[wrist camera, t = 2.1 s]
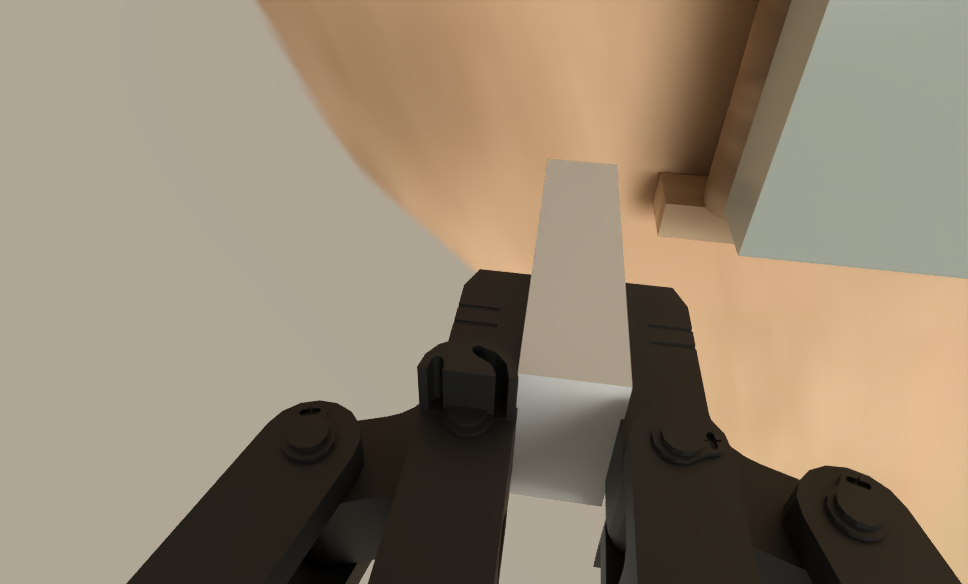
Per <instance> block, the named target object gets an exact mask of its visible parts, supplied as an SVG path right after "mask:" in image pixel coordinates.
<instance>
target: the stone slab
mask: <svg viewBox="0 0 968 584" xmlns="http://www.w3.org/2000/svg"><path fill="white" fill-rule="evenodd" d="M724 213H725V216H726V219H727V222H728V226H729V229H730V232H731V235H732V238H733V241H734V244H735V247H736V250H737V253H738V256H746V257H756V258H766V259H776V260H786V261H796V262H806V263H816V264H826V265H836V266H846V267H855V268H865V269H875V270H885V271H895V272H905V273H915V274H925V275H935V276H945V277H955V278H964V279H968V0H792V1H791V4H790V7H789V10H788V13H787V16H786V19H785V22H784V26H783V29H782V32H781V35H780V38H779V41H778V44H777V47H776V51H775V54H774V57H773V60H772V63H771V66H770V69H769V72H768V76H767V79H766V82H765V85H764V88H763V91H762V94H761V97H760V100H759V104H758V107H757V110H756V113H755V116H754V119H753V122H752V125H751V129H750V132H749V135H748V138H747V141H746V144H745V147H744V150H743V154H742V157H741V160H740V163H739V166H738V169H737V172H736V175H735V179H734V182H733V185H732V188H731V191H730V194H729V197H728V200H727V204H726V207H725V210H724Z"/></svg>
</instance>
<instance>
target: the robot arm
mask: <svg viewBox="0 0 968 584" xmlns="http://www.w3.org/2000/svg"><path fill="white" fill-rule="evenodd" d="M691 330H692V326H691V321H690V316H689V311H688V307H687V306H686V304H685V303H684V302H683V301H682V299H681V298H680V297H679V295H678V294H677V293H676V292H675V290H674V289H673V288H668V287H659V286H649V285H640V284H630V283H625V272H624V257H623V243H622V228H621V214H620V200H619V185H618V171H617V165H613V164H601V163H590V162H578V161H567V160H555V159H548V161H547V168H546V175H545V182H544V189H543V197H542V204H541V211H540V218H539V225H538V232H537V239H536V246H535V254H534V261H533V268H532V275H529V274H519V273H510V272H501V271H491V270H482V269H480V270H479V271H478V272H477V273H476V274H475V275H474V276H473V277H472V278H471V279H470V280H469V281H468V282H467V283H466V284H465V285H464V288H463V291H462V295H461V298H460V302H459V308H458V309H457V312H456V316H455V321H454V323H453V326H452V330H451V333H450V337H449V341H448V342H445V343H441V344H439V345H437V346H436V347H434V348H433V349H432V350H430V351H429V352H427V353H426V354H425V355H424V357H423V358H422V360H421V362H420V363H419V365H418V366H417V370H418V388H419V405H417V406H416V407H414V408H412V409H410V410H407V411H405V412H403V413H400V414H396V415H392V416H388V417H381V418H374V419H368V420H360V421H357V420H356V418H355V416H354V415H353V413H352V412H351V411H349V410H348V409H346V408H344V407H343V406H341V405H339V404H337V403H332V402H326V401H312V402H305V403H300V404H298V405H296V406H293V407H291V408H289V409H286V410H284V411H282V412H281V413H280V414H278V415H277V416H276V417H275V418H274V419H272V420H271V421H270V422H269V423H268V424H267V425H266V426H265V427H264V428H263V429H262V430H261V432H260V433H259V434H258V435H257V436H256V437H255V438H254V440H253V441H252V442H251V443H250V444H249V445H248V446H247V447H246V449H245V450H244V451H243V452H242V453H241V454H240V455H239V457H238V458H237V459H236V460H235V461H234V462H233V463H232V465H231V466H230V467H229V468H228V469H227V470H226V471H225V473H224V474H223V475H222V476H221V477H220V478H219V479H218V480H217V482H216V483H215V484H214V485H213V486H212V487H211V488H210V489H209V491H208V492H207V493H206V494H205V495H204V496H203V497H202V499H201V500H200V501H199V502H198V503H197V504H196V505H195V506H194V508H193V509H192V510H191V511H190V512H189V513H188V514H187V516H186V517H185V518H184V519H183V520H182V521H181V522H180V523H179V525H178V526H177V527H176V528H175V529H174V530H173V531H172V533H171V534H170V535H169V536H168V537H167V538H166V539H165V541H164V542H163V543H162V544H161V545H160V546H159V547H158V549H157V550H156V551H155V552H154V553H153V554H152V555H151V556H150V558H149V559H148V560H147V561H146V562H145V563H144V564H143V565H142V567H141V568H140V569H139V570H138V571H137V572H136V573H135V575H134V576H133V577H132V578H131V579H130V580H129V581H128V583H127V584H359V582H360V580H361V578H362V577H363V575H364V573H365V571H366V570H367V568H368V566H369V564H370V563H371V561H372V560H374V559H375V562H374V566H373V569H372V572H371V575H370V579H369V582H368V584H499V576H500V568H501V560H502V551H503V544H504V536H505V528H506V517H507V516H506V515H507V506H508V499H509V493H512V494H519V495H526V496H533V497H540V498H547V499H554V500H561V501H568V502H575V503H582V504H588V505H595V506H602V502H603V499H604V495H605V496H606V520H605V524H604V527H603V531H602V534H601V538H600V542H599V545H598V549H597V553H596V557H595V562H594V567H599V568H601V584H962V583H961V582H960V581H959V579H958V578H957V576H956V575H955V574H954V572H953V571H952V569H951V568H950V567H949V565H948V564H947V563H946V561H945V560H944V558H943V557H942V556H941V554H940V553H939V551H938V550H937V549H936V547H935V546H934V545H933V543H932V542H931V540H930V539H929V538H928V536H927V535H926V533H925V532H924V531H923V529H922V528H921V527H920V525H919V524H918V522H917V521H916V520H915V518H914V517H913V515H912V514H911V513H910V511H909V510H908V509H907V507H906V506H905V505H904V504H903V503H902V502H901V501H900V500H899V499H898V498H897V497H896V496H895V495H894V494H893V493H892V492H891V490H889V489H888V488H886V487H885V486H883V485H882V484H880V483H879V482H877V481H876V480H874V479H873V478H871V477H870V476H867V475H865V474H862V473H859V472H857V471H854V470H851V469H849V468H844V467H834V466H823V467H819V468H816V469H812V470H809V471H808V472H807V473H806V474H805V475H804V476H803V477H802V478H801V480H799V479H796V478H794V477H791V476H789V475H786V474H784V473H781V472H779V471H776V470H773V469H771V468H768V467H766V466H763V465H761V464H759V463H757V462H755V461H753V460H751V459H749V458H746V457H745V456H743V455H742V454H740V453H739V452H738V451H736V450H735V449H733V448H732V447H731V446H730V445H729V443H728V440H727V438H726V436H725V434H724V433H723V432H722V431H721V430H720V429H719V428H718V427H717V426H716V425H715V424H714V422H713V421H712V420H711V418H710V416H709V412H708V407H707V402H706V397H705V392H704V387H703V382H702V377H701V372H700V367H699V362H698V356H697V351H696V349H695V341H694V336H693V332H691Z"/></svg>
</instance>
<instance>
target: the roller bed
mask: <svg viewBox="0 0 968 584" xmlns="http://www.w3.org/2000/svg"><path fill="white" fill-rule="evenodd" d="M791 1H792V0H759V3H758V6H757V10H756V13H755V17H754V20H753V23H752V27H751V30H750V34H749V37H748V41H747V44H746V48H745V51H744V55H743V58H742V62H741V65H740V68H739V72H738V75H737V79H736V82H735V86H734V89H733V93H732V96H731V100H730V103H729V107H728V110H727V113H726V117H725V120H724V124H723V127H722V131H721V134H720V138H719V141H718V145H717V148H716V152H715V155H714V158H713V162H712V165H711V169H710V172H709V176H698V175H687V174H676V173H664V172H660V176H659V180H658V184H657V189H656V193H655V197H654V202H653V206H654V213H655V220H656V227H657V234H658V236H659V237H669V238H679V239H689V240H699V241H709V242H720V243H730V244H734V241H733V238H732V235H731V232H730V229H729V226H728V222H727V219H726V216H725V213H724V210H725V207H726V204H727V200H728V197H729V194H730V191H731V188H732V185H733V182H734V179H735V175H736V172H737V169H738V166H739V163H740V160H741V157H742V154H743V150H744V147H745V144H746V141H747V138H748V135H749V132H750V129H751V125H752V122H753V119H754V116H755V113H756V110H757V107H758V104H759V100H760V97H761V94H762V91H763V88H764V85H765V82H766V79H767V76H768V72H769V69H770V66H771V63H772V60H773V57H774V54H775V51H776V47H777V44H778V41H779V38H780V35H781V32H782V29H783V26H784V22H785V19H786V16H787V13H788V10H789V7H790V4H791Z"/></svg>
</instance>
